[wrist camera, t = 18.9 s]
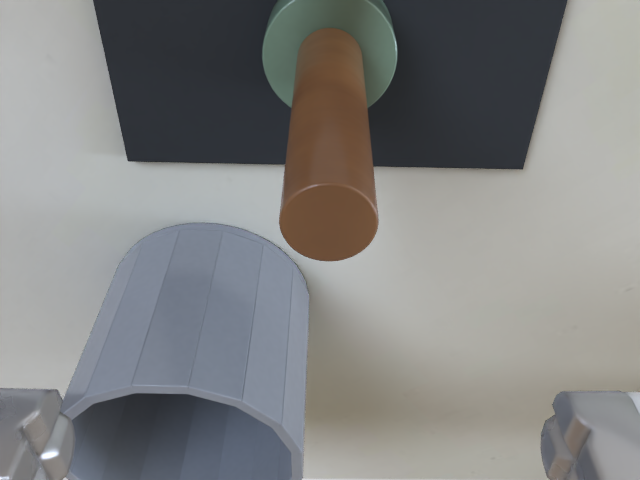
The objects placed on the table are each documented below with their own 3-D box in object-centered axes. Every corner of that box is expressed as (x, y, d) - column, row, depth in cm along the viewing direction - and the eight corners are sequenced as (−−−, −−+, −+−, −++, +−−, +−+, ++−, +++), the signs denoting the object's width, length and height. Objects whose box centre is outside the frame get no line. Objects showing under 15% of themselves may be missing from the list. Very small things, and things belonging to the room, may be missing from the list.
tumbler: (135, 358, 37) (83, 521, 29) (97, 219, 30) (17, 382, 23) (309, 362, 37) (303, 525, 29) (309, 224, 30) (302, 389, 22)
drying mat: (129, 157, 28) (127, 161, 28) (64, -151, 20) (60, -150, 20) (520, 165, 28) (523, 169, 28) (600, -141, 20) (604, -139, 20)
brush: (268, 96, 25) (232, 297, 16) (263, -30, 22) (215, 130, 13) (387, 98, 25) (420, 301, 16) (399, -27, 22) (448, 135, 13)
